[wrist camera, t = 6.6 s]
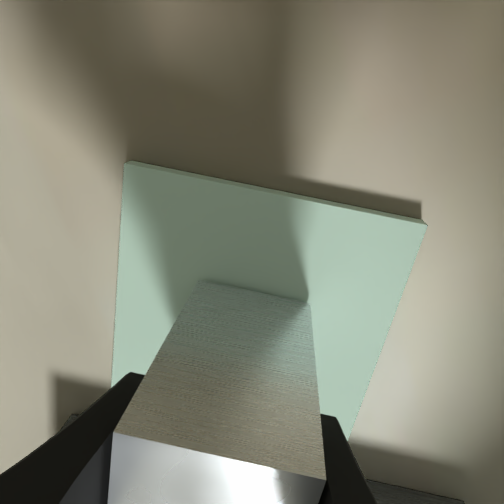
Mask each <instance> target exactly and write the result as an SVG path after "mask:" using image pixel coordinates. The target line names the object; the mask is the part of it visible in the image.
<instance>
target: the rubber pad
mask: <svg viewBox="0 0 504 504" xmlns="http://www.w3.org/2000/svg"><path fill="white" fill-rule="evenodd" d="M427 226H428V225H427V224H426V223H425V222H424V221H423V220H420V219H415V218H411V217H406V216H401V215H396V214H391V213H386V212H381V211H376V210H371V209H366V208H361V207H357V206H352V205H347V204H342V203H337V202H332V201H327V200H322V199H317V198H312V197H308V196H303V195H298V194H293V193H288V192H283V191H278V190H273V189H268V188H263V187H259V186H254V185H249V184H244V183H239V182H234V181H229V180H224V179H219V178H214V177H209V176H205V175H200V174H195V173H190V172H185V171H180V170H175V169H170V168H165V167H160V166H156V165H151V164H146V163H141V162H136V161H129V162H126V163H124V174H123V191H122V209H121V226H120V244H119V261H118V279H117V296H116V314H115V331H114V349H113V366H112V383H111V388H112V387H113V386H114V385H115V384H116V383H117V382H118V381H119V380H120V379H122V378H123V377H124V376H125V375H126V374H128V373H129V372H134V373H138V374H143V375H145V374H146V373H147V371H148V369H149V367H150V365H151V364H152V362H153V360H154V358H155V357H156V355H157V353H158V351H159V349H160V348H161V346H162V344H163V342H164V341H165V339H166V337H167V335H168V333H169V332H170V330H171V328H172V326H173V324H174V323H175V321H176V319H177V317H178V316H179V314H180V312H181V310H182V308H183V307H184V305H185V303H186V301H187V299H188V298H189V296H190V294H191V292H192V291H193V289H194V287H195V285H196V283H197V282H198V280H203V281H207V282H212V283H217V284H221V285H226V286H231V287H236V288H240V289H245V290H250V291H254V292H259V293H264V294H269V295H273V296H278V297H283V298H287V299H292V300H297V301H302V302H306V303H310V306H311V317H312V328H313V339H314V350H315V361H316V372H317V383H318V394H319V405H320V414H325V415H330V416H334V417H336V418H337V420H338V421H339V423H340V426H341V428H342V430H343V433H344V435H345V437H346V440H347V441H348V439H349V436H350V433H351V431H352V428H353V425H354V422H355V420H356V417H357V414H358V412H359V409H360V406H361V404H362V401H363V398H364V396H365V393H366V390H367V387H368V385H369V382H370V379H371V377H372V374H373V371H374V369H375V366H376V363H377V361H378V358H379V355H380V352H381V350H382V347H383V344H384V342H385V339H386V336H387V334H388V331H389V328H390V326H391V323H392V320H393V318H394V315H395V312H396V309H397V307H398V304H399V301H400V299H401V296H402V293H403V291H404V288H405V285H406V283H407V280H408V277H409V274H410V272H411V269H412V266H413V264H414V261H415V258H416V256H417V253H418V250H419V248H420V245H421V242H422V239H423V237H424V234H425V231H426V229H427Z"/></svg>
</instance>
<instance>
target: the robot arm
mask: <svg viewBox="0 0 504 504" xmlns="http://www.w3.org/2000/svg"><path fill="white" fill-rule="evenodd" d="M144 376H145V375H143V374H138V373H134V372H129V373H128V374H126V375H125V376H124V377H123V378H122V379H120V380H119V381H118V382H117V383H116V384H115V385H114V386H113V387H112V388H111V389H109V390H108V391H107V392H106V393H105V394H104V395H103V396H102V397H100V398H99V399H98V400H97V401H96V402H95V403H94V404H92V405H91V406H90V407H89V408H88V409H86V410H85V411H84V412H83V413H82V414H80V415H79V416H78V417H77V418H75V419H74V420H73V421H72V422H71V423H69V424H68V425H67V426H66V427H64V428H63V429H62V430H61V431H59V432H58V433H57V434H56V435H54V436H53V437H52V438H50V439H49V440H48V441H46V442H45V443H44V444H42V445H41V446H40V447H38V448H37V449H36V450H34V451H33V452H32V453H30V454H29V455H28V456H26V457H25V458H23V459H22V460H21V461H19V462H18V463H16V464H15V465H14V466H12V467H11V468H9V469H8V470H6V471H5V472H3V473H2V474H0V504H108V492H109V479H110V466H111V453H112V440H113V432H114V430H115V428H116V426H117V424H118V423H119V421H120V419H121V417H122V415H123V414H124V412H125V410H126V408H127V407H128V405H129V403H130V401H131V399H132V398H133V396H134V394H135V392H136V390H137V389H138V387H139V385H140V383H141V382H142V380H143V378H144ZM320 416H321V427H322V438H323V449H324V460H325V471H326V483H325V485H324V488H323V491H322V494H321V497H320V500H319V503H318V504H378V503H377V501H376V499H375V497H374V496H373V494H372V492H371V490H370V488H369V486H368V484H367V482H366V480H365V478H364V476H363V474H362V472H361V470H360V468H359V466H358V463H357V461H356V459H355V457H354V455H353V453H352V451H351V448H350V446H349V444H348V442H347V440H346V437H345V435H344V433H343V430H342V428H341V426H340V423H339V421H338V420H337V418H336V417H334V416H330V415H325V414H320Z"/></svg>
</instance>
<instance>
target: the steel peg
mask: <svg viewBox="0 0 504 504" xmlns="http://www.w3.org/2000/svg"><path fill="white" fill-rule="evenodd" d="M325 483H326V471H325V460H324V449H323V438H322V427H321V416H320V405H319V394H318V383H317V372H316V361H315V350H314V339H313V328H312V317H311V306H310V303H306V302H302V301H297V300H292V299H287V298H283V297H278V296H273V295H269V294H264V293H259V292H254V291H250V290H245V289H240V288H236V287H231V286H226V285H221V284H217V283H212V282H207V281H203V280H198V282H197V283H196V285H195V287H194V289H193V291H192V292H191V294H190V296H189V298H188V299H187V301H186V303H185V305H184V307H183V308H182V310H181V312H180V314H179V316H178V317H177V319H176V321H175V323H174V324H173V326H172V328H171V330H170V332H169V333H168V335H167V337H166V339H165V341H164V342H163V344H162V346H161V348H160V349H159V351H158V353H157V355H156V357H155V358H154V360H153V362H152V364H151V365H150V367H149V369H148V371H147V373H146V374H145V376H144V378H143V380H142V382H141V383H140V385H139V387H138V389H137V390H136V392H135V394H134V396H133V398H132V399H131V401H130V403H129V405H128V407H127V408H126V410H125V412H124V414H123V415H122V417H121V419H120V421H119V423H118V424H117V426H116V428H115V430H114V432H113V440H112V453H111V466H110V479H109V492H108V504H318V503H319V500H320V497H321V494H322V491H323V488H324V485H325Z"/></svg>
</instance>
